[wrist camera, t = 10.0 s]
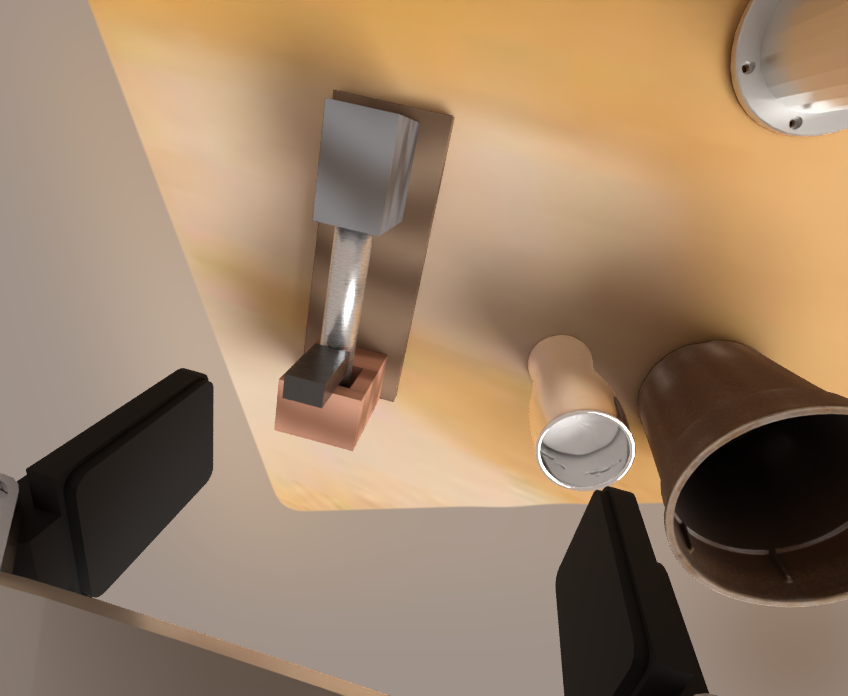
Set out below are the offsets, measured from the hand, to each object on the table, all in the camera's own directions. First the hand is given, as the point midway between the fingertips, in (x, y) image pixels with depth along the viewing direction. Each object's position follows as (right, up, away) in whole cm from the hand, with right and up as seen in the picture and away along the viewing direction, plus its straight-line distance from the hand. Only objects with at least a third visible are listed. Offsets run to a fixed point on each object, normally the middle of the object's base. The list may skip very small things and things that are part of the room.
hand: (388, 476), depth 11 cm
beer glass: (+14, +2, +35) cm, 37 cm away
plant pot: (+28, -2, +34) cm, 44 cm away
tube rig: (-4, +12, +33) cm, 36 cm away
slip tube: (-6, +7, +29) cm, 30 cm away
